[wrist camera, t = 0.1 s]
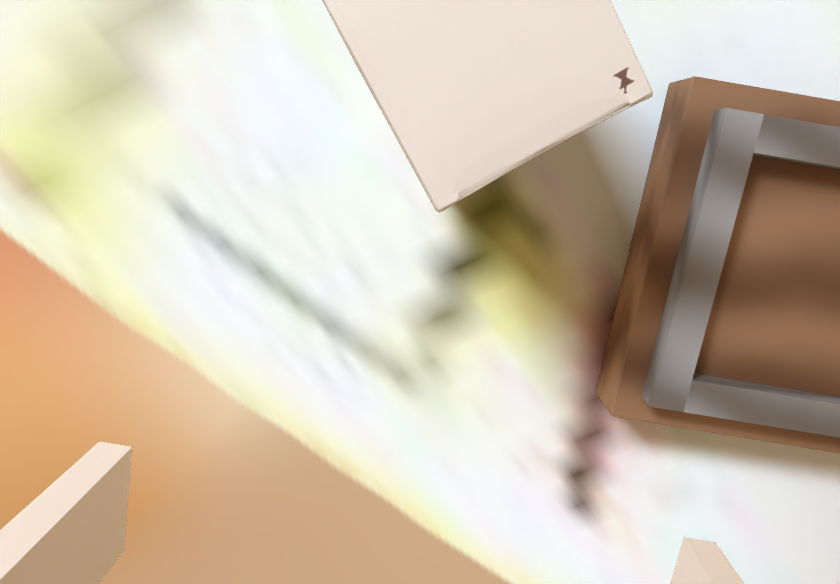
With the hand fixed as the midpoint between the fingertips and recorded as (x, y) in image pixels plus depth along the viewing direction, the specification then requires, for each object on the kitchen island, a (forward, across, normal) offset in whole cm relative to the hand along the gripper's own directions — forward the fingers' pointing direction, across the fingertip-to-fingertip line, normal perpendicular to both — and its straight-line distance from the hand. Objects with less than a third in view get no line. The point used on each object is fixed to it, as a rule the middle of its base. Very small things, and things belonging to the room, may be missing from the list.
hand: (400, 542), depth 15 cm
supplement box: (+28, +1, +13) cm, 31 cm away
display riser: (+28, +23, +5) cm, 36 cm away
